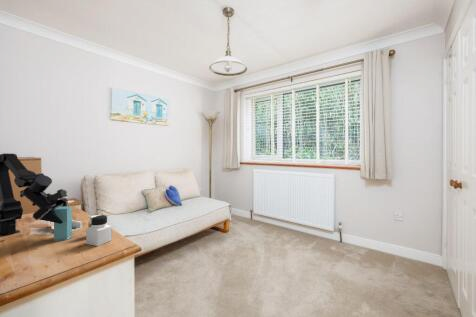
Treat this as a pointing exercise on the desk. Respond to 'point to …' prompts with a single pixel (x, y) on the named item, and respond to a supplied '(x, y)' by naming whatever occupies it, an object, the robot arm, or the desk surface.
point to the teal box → (66, 227)
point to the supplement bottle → (90, 221)
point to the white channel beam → (76, 225)
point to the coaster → (63, 239)
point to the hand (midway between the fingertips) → (66, 220)
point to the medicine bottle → (98, 231)
